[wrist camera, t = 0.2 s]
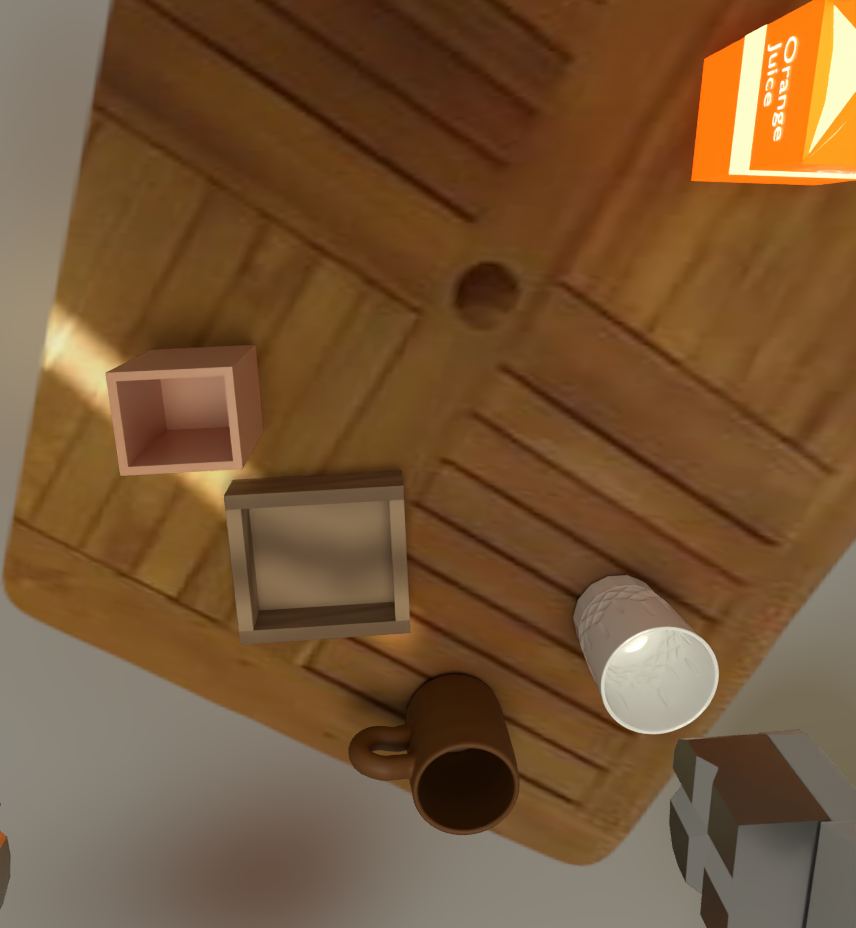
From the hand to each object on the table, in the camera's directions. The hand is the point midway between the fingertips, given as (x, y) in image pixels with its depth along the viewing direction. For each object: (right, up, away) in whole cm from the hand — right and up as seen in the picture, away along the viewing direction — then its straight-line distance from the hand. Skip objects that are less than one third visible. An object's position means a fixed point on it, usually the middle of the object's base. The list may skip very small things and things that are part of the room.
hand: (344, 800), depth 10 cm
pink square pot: (-14, +9, +46) cm, 49 cm away
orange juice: (+23, +27, +44) cm, 57 cm away
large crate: (-7, -2, +50) cm, 51 cm away
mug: (+1, -15, +54) cm, 56 cm away
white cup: (+15, -8, +53) cm, 56 cm away
